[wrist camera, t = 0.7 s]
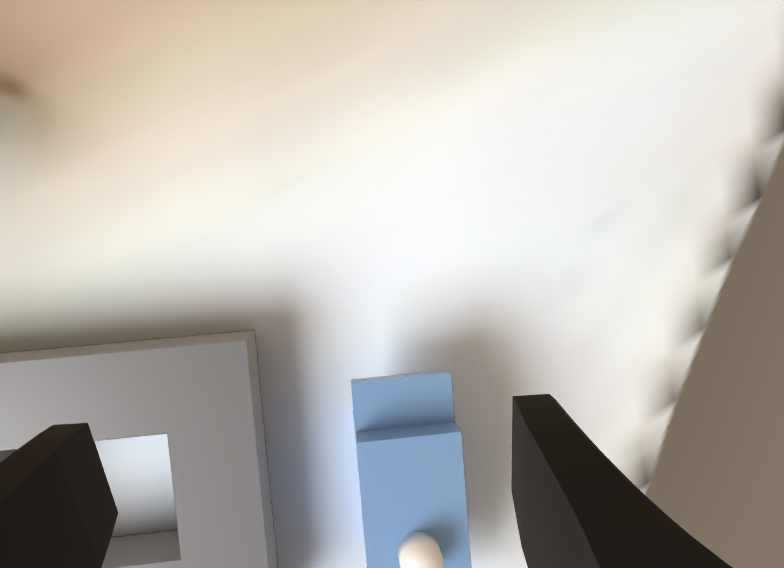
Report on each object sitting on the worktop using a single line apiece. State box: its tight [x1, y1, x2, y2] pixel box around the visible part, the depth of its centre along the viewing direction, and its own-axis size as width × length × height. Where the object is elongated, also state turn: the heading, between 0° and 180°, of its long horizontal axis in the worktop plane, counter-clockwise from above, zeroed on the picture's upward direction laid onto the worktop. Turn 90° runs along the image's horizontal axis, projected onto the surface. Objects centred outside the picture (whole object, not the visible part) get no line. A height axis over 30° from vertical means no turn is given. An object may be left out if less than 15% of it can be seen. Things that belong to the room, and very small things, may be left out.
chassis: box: [0, 330, 278, 568], centre depth 28 cm, size 12×14×3 cm
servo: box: [351, 370, 471, 568], centre depth 28 cm, size 4×10×6 cm, turn 5°
